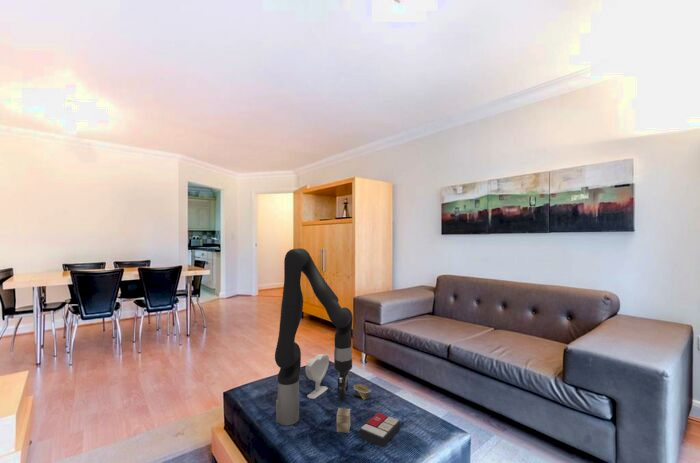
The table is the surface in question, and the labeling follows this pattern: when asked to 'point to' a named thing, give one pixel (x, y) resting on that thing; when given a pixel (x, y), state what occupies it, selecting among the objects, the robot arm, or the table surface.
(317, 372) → the heart sculpture
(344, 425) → the maple block
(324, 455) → the table surface
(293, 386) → the robot arm
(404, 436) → the table surface
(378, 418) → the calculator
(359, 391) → the olive plastic tub
